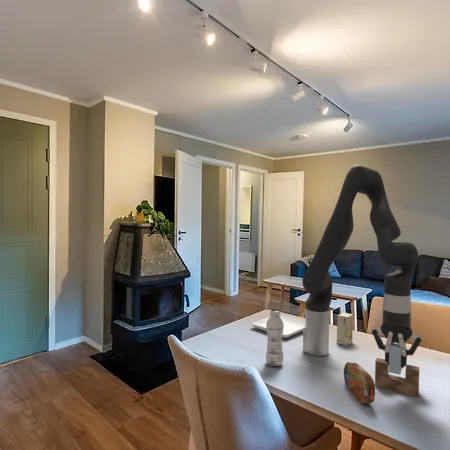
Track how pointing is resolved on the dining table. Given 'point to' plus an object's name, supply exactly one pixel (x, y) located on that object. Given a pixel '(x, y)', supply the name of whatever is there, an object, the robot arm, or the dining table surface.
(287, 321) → the salad plate
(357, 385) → the tin
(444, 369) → the dining table surface
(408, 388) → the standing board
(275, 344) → the plastic bottle
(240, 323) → the dining table surface
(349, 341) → the skincare box
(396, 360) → the cross plate
